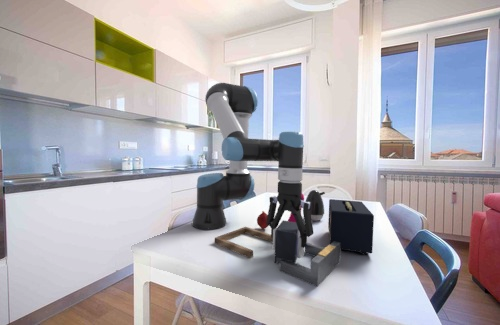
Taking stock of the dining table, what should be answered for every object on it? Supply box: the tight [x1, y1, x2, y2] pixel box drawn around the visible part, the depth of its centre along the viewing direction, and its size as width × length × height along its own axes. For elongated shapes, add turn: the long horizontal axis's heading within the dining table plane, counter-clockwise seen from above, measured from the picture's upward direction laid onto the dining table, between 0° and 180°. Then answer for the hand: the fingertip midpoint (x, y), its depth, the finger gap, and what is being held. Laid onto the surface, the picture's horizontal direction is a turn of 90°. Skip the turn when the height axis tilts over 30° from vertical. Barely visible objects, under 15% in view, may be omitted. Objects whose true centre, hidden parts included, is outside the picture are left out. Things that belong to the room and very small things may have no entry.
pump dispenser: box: [304, 189, 326, 222], centre depth 112 cm, size 10×10×15 cm
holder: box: [214, 226, 273, 259], centre depth 81 cm, size 17×17×2 cm
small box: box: [273, 219, 300, 265], centre depth 70 cm, size 11×6×10 cm, turn 160°
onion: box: [256, 210, 270, 230], centre depth 96 cm, size 6×6×8 cm
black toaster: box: [327, 198, 375, 255], centre depth 83 cm, size 22×13×15 cm, turn 162°
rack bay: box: [279, 241, 341, 287], centre depth 64 cm, size 11×17×6 cm, turn 140°
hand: (287, 252), depth 70 cm, fingers open, 8 cm apart
